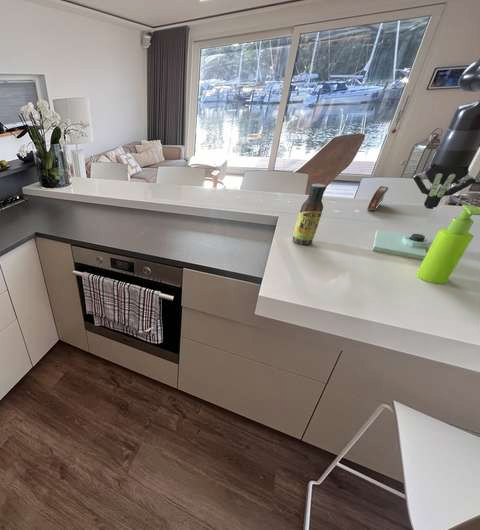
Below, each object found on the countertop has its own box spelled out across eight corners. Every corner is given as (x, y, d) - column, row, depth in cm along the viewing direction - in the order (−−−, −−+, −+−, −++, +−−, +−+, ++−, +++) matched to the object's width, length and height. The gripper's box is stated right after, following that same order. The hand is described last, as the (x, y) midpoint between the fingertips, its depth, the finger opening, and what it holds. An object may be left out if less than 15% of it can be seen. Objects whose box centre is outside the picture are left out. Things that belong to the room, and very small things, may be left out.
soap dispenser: (419, 282, 76) (458, 210, 65) (413, 269, 80) (449, 201, 70) (450, 287, 73) (496, 213, 63) (443, 274, 78) (484, 203, 68)
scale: (424, 240, 94) (428, 232, 93) (426, 260, 84) (431, 251, 82) (375, 232, 101) (379, 224, 100) (372, 250, 91) (376, 242, 90)
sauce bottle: (293, 245, 98) (308, 187, 88) (289, 237, 103) (303, 182, 93) (315, 246, 96) (332, 187, 86) (310, 238, 101) (326, 182, 91)
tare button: (422, 239, 89) (425, 235, 89) (423, 243, 88) (425, 238, 87) (409, 237, 91) (411, 233, 90) (409, 241, 89) (412, 236, 89)
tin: (373, 202, 126) (381, 183, 121) (382, 203, 124) (390, 184, 119) (365, 212, 117) (372, 192, 113) (374, 213, 115) (382, 193, 111)
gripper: (492, 144, 76) (459, 207, 85) (423, 144, 84) (399, 201, 92) (498, 149, 71) (462, 215, 80) (424, 148, 79) (399, 208, 88)
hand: (428, 207), depth 86 cm, fingers closed
